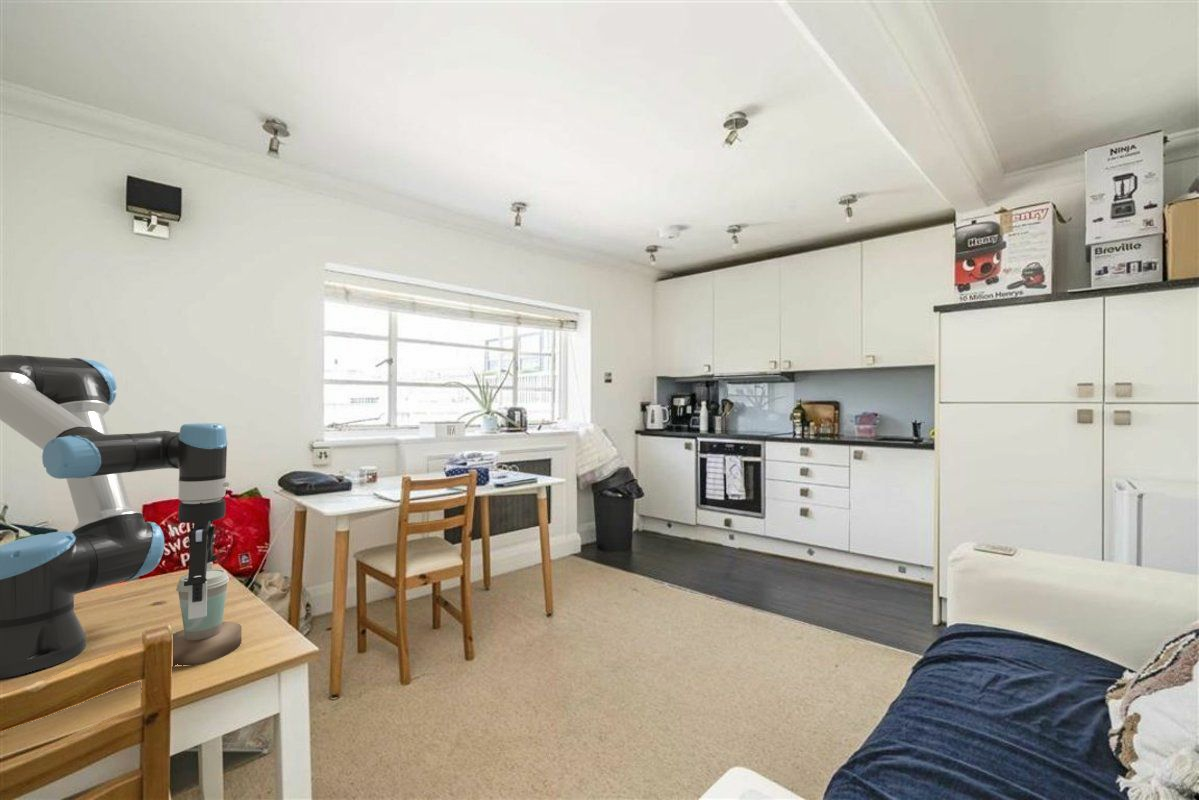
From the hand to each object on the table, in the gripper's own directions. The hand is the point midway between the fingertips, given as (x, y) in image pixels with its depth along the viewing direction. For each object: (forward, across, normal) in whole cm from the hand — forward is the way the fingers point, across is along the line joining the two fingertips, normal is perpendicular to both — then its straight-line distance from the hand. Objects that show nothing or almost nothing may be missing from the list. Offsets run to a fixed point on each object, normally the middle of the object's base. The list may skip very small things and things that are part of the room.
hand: (201, 605), depth 103 cm
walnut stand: (+9, 0, 0) cm, 9 cm away
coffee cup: (+6, 0, 0) cm, 6 cm away
